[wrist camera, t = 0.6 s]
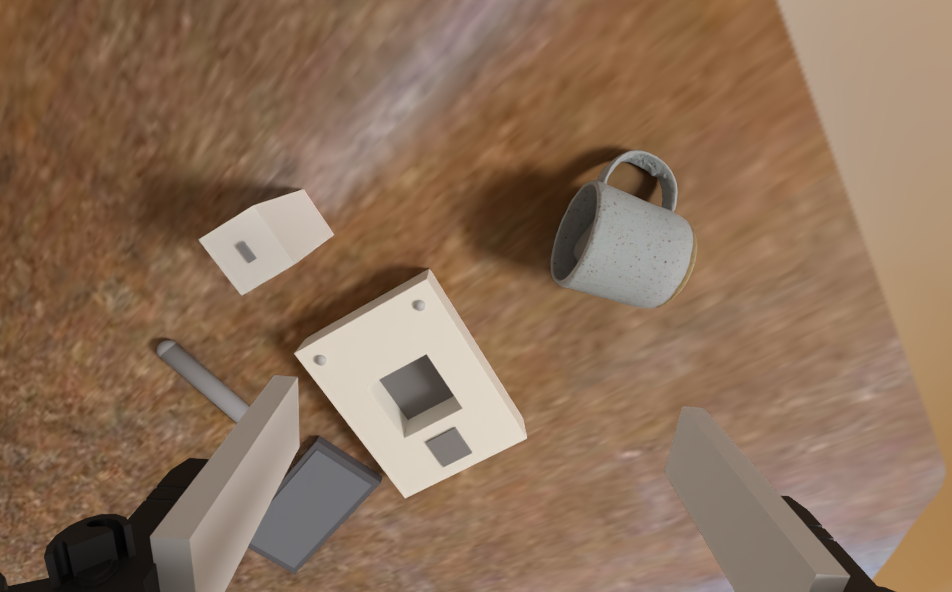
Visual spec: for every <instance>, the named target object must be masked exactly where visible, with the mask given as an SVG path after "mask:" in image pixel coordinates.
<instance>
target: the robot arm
mask: <svg viewBox="0 0 952 592" xmlns="http://www.w3.org/2000/svg"><path fill="white" fill-rule="evenodd" d="M298 449H299V404H298V377H290V376H277V375H274V376H273V378H272V379H271V380H270V382H269V383H268V384H267V385H266V387H265V388H264V389H263V391H262V392H261V393H260V395H259V396H258V397H257V398H256V400H255V401H254V402H253V404H252V405H251V406H250V407H249V409H248V410H247V411H246V413H245V414H244V415H243V417H242V418H241V419H240V420H239V422H238V423H237V424H236V426H235V427H234V428H233V430H232V431H231V432H230V433H229V435H228V436H227V437H226V439H225V440H224V441H223V443H222V444H221V445H220V446H219V448H218V449H217V450H216V452H215V453H214V454H213V455H212V457H211V458H210V459H195V458H189V459H187V460H186V461H184V462H183V463H181V464H179V465H178V466H176V467H175V468H173V469H172V470H170V471H169V472H168V474H167V475H166V476H165V477H164V478H163V479H162V481H161V482H160V483H159V484H158V485H157V488H156V489H154V490H153V491H152V492H151V493H150V495H149V496H148V497H147V499H146V501H144V502H143V503H142V504H141V505H140V506H139V507H138V508H137V510H136V511H135V512H134V513H133V514H132V515H131V517H130V518H129V519H128V520H127V518H126V517H123V516H120V515H117V514H101V515H97V516H93V517H89V518H85V519H83V520H81V521H79V522H77V523H74V524H72V525H70V526H69V527H67V528H66V529H64V530H63V531H62V532H60V533H59V534H57V535H56V536H55V537H54V538H53V540H52V541H51V542H50V543H49V544H48V546H47V548H46V551H45V555H44V559H45V563H46V567H47V571H48V575H49V578H47V579H42V580H37V581H32V582H27V583H22V584H17V585H12V586H7V582H6V579H5V577H4V576H3V575H2V574H1V573H0V592H225V590H226V588H227V586H228V584H229V582H230V580H231V578H232V577H233V575H234V573H235V571H236V569H237V567H238V565H239V563H240V561H241V559H242V557H243V555H244V553H245V551H246V549H247V547H248V546H249V544H250V542H251V540H252V538H253V536H254V534H255V532H256V530H257V528H258V526H259V524H260V522H261V520H262V518H263V517H264V515H265V513H266V511H267V509H268V507H269V505H270V503H271V501H272V499H273V497H274V495H275V493H276V491H277V489H278V487H279V486H280V484H281V482H282V480H283V478H284V476H285V474H286V472H287V470H288V468H289V466H290V464H291V462H292V460H293V458H294V456H295V455H296V453H297V451H298ZM664 472H665V474H666V476H667V477H668V479H669V481H670V482H671V484H672V486H673V487H674V489H675V491H676V492H677V494H678V496H679V498H680V499H681V501H682V503H683V504H684V506H685V508H686V509H687V511H688V513H689V514H690V516H691V518H692V519H693V521H694V523H695V525H696V526H697V528H698V530H699V531H700V533H701V535H702V536H703V538H704V540H705V541H706V543H707V545H708V546H709V548H710V550H711V552H712V553H713V555H714V557H715V558H716V560H717V562H718V563H719V565H720V567H721V568H722V570H723V572H724V573H725V575H726V577H727V579H728V580H729V582H730V584H731V585H732V587H733V589H734V590H735V592H895V591H893V590H890V589H888V588H885V587H879V586H877V585H876V584H875V583H874V582H873V581H872V580H871V579H870V578H869V577H868V576H867V574H866V573H865V572H864V571H863V570H862V569H861V568H860V567H859V566H858V565H857V563H856V562H855V561H854V560H853V559H852V558H851V557H850V556H849V555H848V554H847V552H846V551H845V550H844V549H843V548H842V547H841V546H840V545H839V544H838V543H837V542H836V541H834V540H833V537H832V536H831V535H830V534H829V533H828V532H827V531H826V529H823V528H822V525H821V524H820V523H819V522H818V521H817V520H816V518H815V517H814V516H813V515H812V514H811V513H810V512H809V511H808V510H807V509H806V508H804V507H803V506H802V505H800V504H799V503H797V502H796V501H795V500H793V499H792V498H790V497H789V496H780V495H779V494H778V493H777V491H776V490H775V489H774V488H773V487H772V486H771V485H770V483H769V482H768V481H767V480H766V479H765V478H764V477H763V475H762V474H761V473H760V472H759V471H758V470H757V469H756V467H755V466H754V465H753V464H752V463H751V462H750V461H749V459H748V458H747V457H746V456H745V455H744V454H743V452H742V451H741V450H740V449H739V448H738V447H737V446H736V444H735V443H734V442H733V441H732V440H731V439H730V438H729V436H728V435H727V434H726V433H725V432H724V431H723V430H722V428H721V427H720V426H719V425H718V424H717V423H716V421H715V420H714V419H713V418H712V417H711V416H710V415H709V413H708V412H707V411H706V410H705V409H704V408H697V407H684V406H682V410H681V413H680V417H679V420H678V424H677V428H676V431H675V435H674V438H673V442H672V446H671V449H670V453H669V456H668V460H667V464H666V467H665V471H664Z"/></svg>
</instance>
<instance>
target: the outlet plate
mask: <svg viewBox="0 0 952 592" xmlns="http://www.w3.org/2000/svg"><path fill="white" fill-rule="evenodd" d="M294 354H295V355H296V357H297V358H298V359H299V361H300V362H301V363H302V365H303V366H304V367H305V368H306V370H307V371H308V372H309V374H310V375H311V376H312V378H313V379H314V380H315V382H316V383H317V384H318V385H319V387H320V388H321V389H322V391H323V392H324V393H325V395H326V396H327V397H328V398H329V400H330V401H331V402H332V404H333V405H334V406H335V408H336V409H337V410H338V411H339V413H340V414H341V415H342V417H343V418H344V419H345V421H346V422H347V423H348V425H349V426H350V427H351V428H352V430H353V431H354V432H355V434H356V435H357V436H358V438H359V439H360V440H361V441H362V443H363V444H364V445H365V447H366V448H367V449H368V451H369V452H370V453H371V455H372V456H373V457H374V458H375V460H376V461H377V462H378V464H379V465H380V466H381V468H382V469H383V470H384V471H385V473H386V474H387V475H388V477H389V478H390V479H391V481H392V482H393V483H394V484H395V486H396V487H397V488H398V490H399V491H400V492H401V494H402V495H403V496H404V498H407V497H409V496H411V495H413V494H415V493H417V492H419V491H421V490H423V489H425V488H427V487H429V486H431V485H433V484H435V483H437V482H439V481H441V480H444V479H446V478H448V477H450V476H452V475H454V474H456V473H458V472H460V471H462V470H464V469H466V468H468V467H470V466H472V465H474V464H476V463H478V462H480V461H482V460H484V459H486V458H488V457H490V456H492V455H494V454H496V453H498V452H500V451H503V450H505V449H507V448H509V447H511V446H513V445H515V444H517V443H519V442H521V441H523V440H525V439H527V435H526V430H525V425H524V421H523V417H522V416H521V414H520V413H519V411H518V409H517V408H516V406H515V405H514V403H513V401H512V400H511V398H510V397H509V395H508V393H507V392H506V390H505V389H504V387H503V385H502V384H501V382H500V381H499V379H498V377H497V376H496V374H495V373H494V371H493V369H492V368H491V366H490V365H489V363H488V361H487V360H486V358H485V356H484V355H483V353H482V352H481V350H480V348H479V347H478V345H477V344H476V342H475V340H474V339H473V337H472V336H471V334H470V332H469V331H468V329H467V328H466V326H465V324H464V323H463V321H462V320H461V318H460V316H459V315H458V313H457V312H456V310H455V308H454V307H453V305H452V304H451V302H450V300H449V299H448V297H447V296H446V294H445V292H444V291H443V289H442V288H441V286H440V284H439V283H438V281H437V280H436V278H435V276H434V275H433V273H432V272H431V270H430V268H429V269H427V270H426V271H424V272H422V273H420V274H419V275H417V276H415V277H413V278H411V279H410V280H408V281H406V282H404V283H403V284H401V285H399V286H397V287H396V288H394V289H392V290H390V291H388V292H387V293H385V294H383V295H381V296H380V297H378V298H376V299H374V300H373V301H371V302H369V303H367V304H365V305H364V306H362V307H360V308H358V309H357V310H355V311H353V312H351V313H350V314H348V315H346V316H344V317H342V318H341V319H339V320H337V321H335V322H334V323H332V324H330V325H328V326H327V327H325V328H323V329H321V330H319V331H318V332H316V333H314V334H312V335H311V336H309V337H307V338H306V339H305V340H304V341H303V343H302V344H301V345H300V347H299V348H298V349H297V350H296V352H295V353H294Z"/></svg>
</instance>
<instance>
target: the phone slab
mask: <svg viewBox="0 0 952 592" xmlns="http://www.w3.org/2000/svg"><path fill="white" fill-rule="evenodd" d="M381 480H382V476H380V475H379V474H377V473H376V472H374V471H373V470H371V469H370V468H368V467H366V466H365V465H363V464H362V463H360V462H359V461H357V460H356V459H354V458H353V457H351V456H350V455H348V454H347V453H345V452H343V451H342V450H340V449H339V448H337V447H336V446H334V445H333V444H331V443H330V442H328V441H327V440H325V439H323V438H322V437H320V436H319V437H318V438H317V439H316V440H315V441H314V442H313V444H312V445H311V446H310V447H309V448H308V449H307V451H306V452H305V453H304V454H303V455H302V456H301V457H300V459H299V460H298V461H297V462H296V463H295V464H294V466H293V467H292V468H291V469H290V470H289V471H288V472H287V474H286V475H285V476H284V478H283V480H282V482H281V484H280V486H279V487H278V489H277V491H276V493H275V495H274V497H273V499H272V501H271V503H270V505H269V507H268V509H267V511H266V513H265V515H264V517H263V518H262V520H261V522H260V524H259V526H258V528H257V530H256V532H255V534H254V536H253V538H252V540H251V542H250V544H249V546H248V548H250V549H251V550H253V551H255V552H257V553H258V554H260V555H262V556H264V557H266V558H267V559H269V560H271V561H273V562H274V563H276V564H278V565H280V566H281V567H283V568H285V569H287V570H288V571H290V572H292V573H294V574H295V573H296V572H297V571H298V570H299V569H300V568H301V567H302V566H303V565H304V564H305V563H306V562H307V560H308V559H309V558H310V557H311V556H312V555H313V554H314V553H315V552H316V551H317V550H318V549H319V548H320V547H321V546H322V545H323V544H324V542H325V541H326V540H327V539H328V538H329V537H330V536H331V535H332V534H333V533H334V532H335V531H336V530H337V529H338V528H339V527H340V525H341V524H342V523H343V522H344V521H345V520H346V519H347V518H348V517H349V516H350V515H351V514H352V513H353V512H354V511H355V510H356V509H357V507H358V506H359V505H360V504H361V503H362V502H363V501H364V500H365V499H366V498H367V497H368V496H369V495H370V494H371V493H372V492H373V490H374V489H375V488H376V487H377V486H378V485H379V484H380V483H381Z"/></svg>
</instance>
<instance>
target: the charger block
mask: <svg viewBox="0 0 952 592" xmlns="http://www.w3.org/2000/svg"><path fill="white" fill-rule="evenodd" d="M333 235H334V234H333V232H332V231H331V229H330V228H329V226H328V225H327V223H326V222H325V220H324V219H323V217H322V216H321V214H320V213H319V211H318V210H317V208H316V207H315V206H314V204H313V203H312V201H311V200H310V198H309V197H308V195H307V194H306V192H305V191H304V189H302V190H299V191H296V192H293V193H290V194H287V195H284V196H281V197H278V198H275V199H271V200H268V201H265V202H262V203H259V204H256V205H253V206H251V207H250V208H248V209H247V210H245V211H243V212H242V213H240V214H239V215H237V216H235V217H234V218H232V219H231V220H229V221H227V222H226V223H224V224H223V225H221V226H219V227H218V228H216V229H215V230H213V231H211V232H210V233H208V234H207V235H205V236H203V237H202V238H200V239H199V241H200V242H201V244H202V245H203V246H204V248H205V249H206V250H207V252H208V253H209V254H210V255H211V257H212V258H213V259H214V261H215V262H216V263H217V264H218V266H219V267H220V268H221V270H222V271H223V272H224V274H225V275H226V276H227V277H228V279H229V280H230V281H231V283H232V284H233V285H234V286H235V288H236V289H237V290H238V292H239V293H240V294H241V296H242V295H244V294H245V293H247V292H249V291H250V290H252V289H254V288H255V287H257V286H259V285H260V284H262V283H264V282H266V281H267V280H269V279H271V278H272V277H274V276H276V275H277V274H279V273H281V272H282V271H284V270H286V269H287V268H289V267H291V266H292V265H294V264H296V263H297V262H298V261H300V260H301V259H302V258H304V257H305V256H306V255H308V254H309V253H310V252H312V251H313V250H314V249H316V248H317V247H318V246H320V245H321V244H322V243H324V242H325V241H326V240H328V239H329V238H330V237H332V236H333Z"/></svg>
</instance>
